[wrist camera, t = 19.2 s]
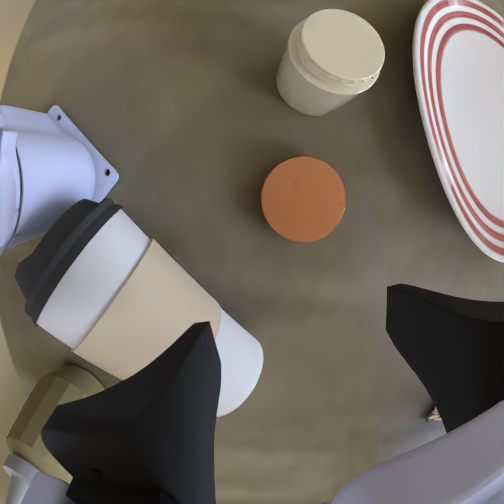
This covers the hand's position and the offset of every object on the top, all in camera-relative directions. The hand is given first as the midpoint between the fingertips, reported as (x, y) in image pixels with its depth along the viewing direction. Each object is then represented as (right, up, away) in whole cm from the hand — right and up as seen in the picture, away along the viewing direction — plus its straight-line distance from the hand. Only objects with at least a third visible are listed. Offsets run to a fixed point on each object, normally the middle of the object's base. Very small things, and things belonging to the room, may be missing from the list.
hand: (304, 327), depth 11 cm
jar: (+2, +15, +7) cm, 17 cm away
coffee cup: (-4, -6, +9) cm, 11 cm away
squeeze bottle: (-20, -11, +13) cm, 26 cm away
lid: (+1, +6, +8) cm, 10 cm away
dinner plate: (+23, +16, +7) cm, 29 cm away
